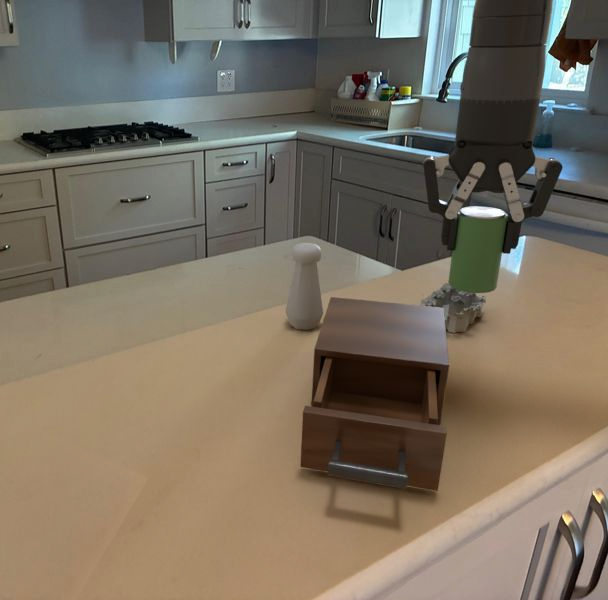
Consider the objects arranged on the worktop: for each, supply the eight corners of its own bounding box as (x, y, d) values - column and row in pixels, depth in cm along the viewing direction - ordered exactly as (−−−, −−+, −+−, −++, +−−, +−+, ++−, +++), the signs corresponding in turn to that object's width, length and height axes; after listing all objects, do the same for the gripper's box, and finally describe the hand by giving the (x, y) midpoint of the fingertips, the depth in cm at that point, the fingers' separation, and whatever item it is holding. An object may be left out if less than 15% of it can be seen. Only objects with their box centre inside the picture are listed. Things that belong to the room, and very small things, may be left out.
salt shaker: (296, 313, 100) (299, 236, 95) (328, 321, 97) (333, 243, 92) (278, 326, 96) (280, 247, 90) (311, 335, 93) (315, 254, 87)
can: (493, 278, 73) (504, 206, 70) (499, 295, 69) (511, 219, 65) (446, 275, 74) (455, 204, 71) (449, 291, 70) (459, 217, 66)
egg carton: (461, 337, 91) (465, 312, 89) (413, 322, 96) (416, 298, 94) (488, 313, 98) (492, 290, 96) (442, 301, 103) (446, 278, 101)
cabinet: (439, 430, 70) (449, 365, 67) (311, 411, 74) (314, 348, 71) (435, 365, 84) (443, 307, 80) (327, 352, 88) (330, 296, 84)
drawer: (439, 526, 56) (449, 465, 53) (292, 498, 59) (294, 440, 57) (434, 410, 72) (441, 359, 70) (319, 393, 76) (322, 345, 73)
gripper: (427, 98, 62) (411, 257, 68) (588, 96, 58) (554, 265, 65) (425, 91, 68) (411, 236, 75) (569, 89, 64) (541, 243, 71)
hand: (477, 249), depth 70 cm, fingers closed on can, 5 cm apart
